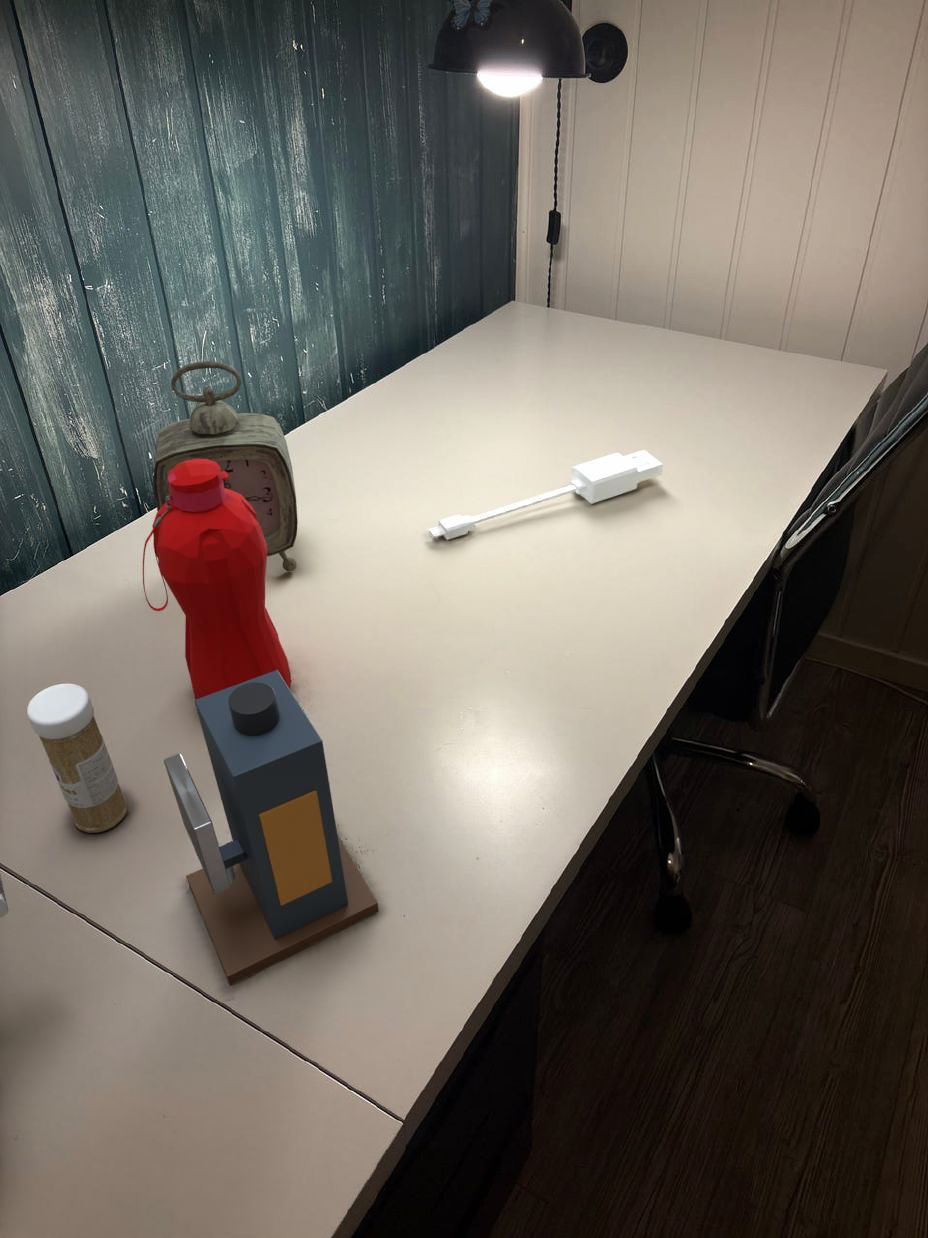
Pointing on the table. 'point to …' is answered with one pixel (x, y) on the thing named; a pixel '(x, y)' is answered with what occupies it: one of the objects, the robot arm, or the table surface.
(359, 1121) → the table surface
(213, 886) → the brushed metal plate
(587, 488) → the charging cable
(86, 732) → the sprinkles bottle
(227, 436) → the tabletop clock
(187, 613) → the water bottle
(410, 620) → the table surface
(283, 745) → the dispenser
